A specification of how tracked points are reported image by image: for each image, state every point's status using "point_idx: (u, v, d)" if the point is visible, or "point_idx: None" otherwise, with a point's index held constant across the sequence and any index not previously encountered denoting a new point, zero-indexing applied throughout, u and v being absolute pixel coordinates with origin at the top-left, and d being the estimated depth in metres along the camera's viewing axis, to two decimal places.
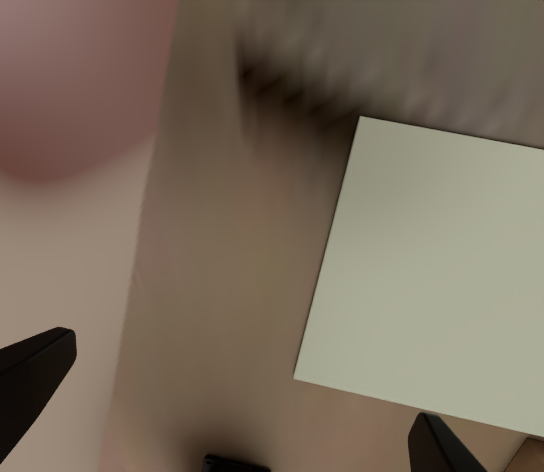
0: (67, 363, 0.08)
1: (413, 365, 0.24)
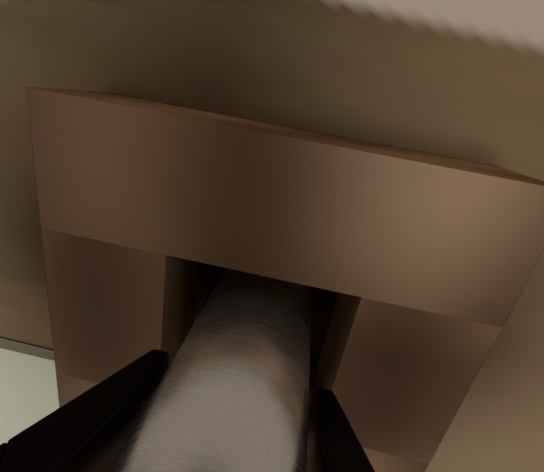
0: None
1: None
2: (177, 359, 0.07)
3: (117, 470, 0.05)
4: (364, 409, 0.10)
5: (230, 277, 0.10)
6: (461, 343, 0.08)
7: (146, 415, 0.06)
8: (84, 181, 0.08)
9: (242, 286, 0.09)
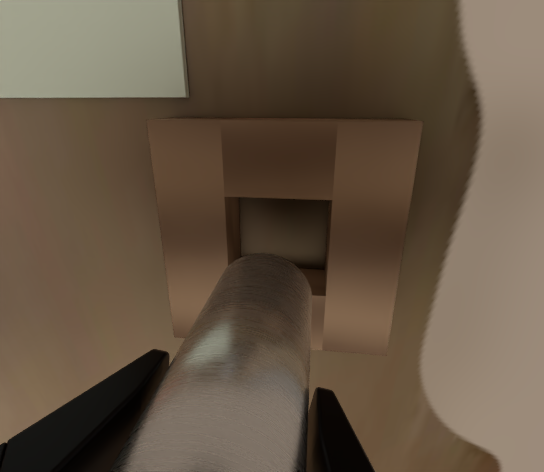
0: None
1: None
2: (177, 358, 0.07)
3: (117, 469, 0.05)
4: None
5: (230, 276, 0.10)
6: None
7: (146, 414, 0.06)
8: (371, 152, 0.14)
9: (242, 286, 0.09)
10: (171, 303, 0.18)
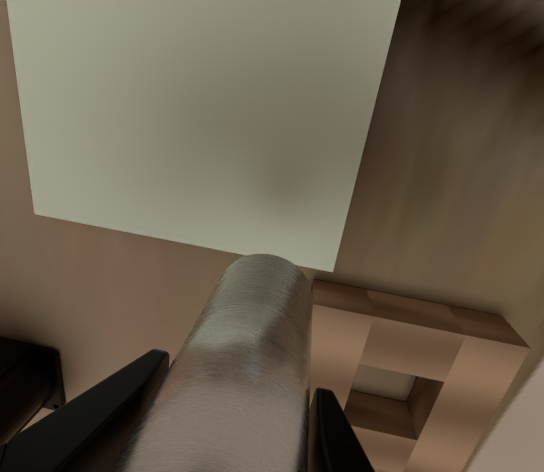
0: None
1: (155, 179, 0.20)
2: (178, 359, 0.07)
3: (118, 470, 0.05)
4: (358, 439, 0.22)
5: (231, 277, 0.10)
6: (394, 465, 0.23)
7: (147, 415, 0.06)
8: (485, 358, 0.19)
9: (243, 287, 0.09)
10: None
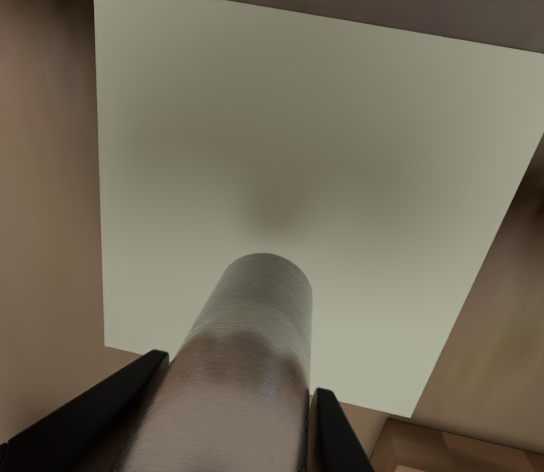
0: None
1: None
2: (177, 358, 0.07)
3: (117, 469, 0.05)
4: None
5: (231, 276, 0.10)
6: None
7: (146, 414, 0.06)
8: None
9: (243, 286, 0.09)
10: None
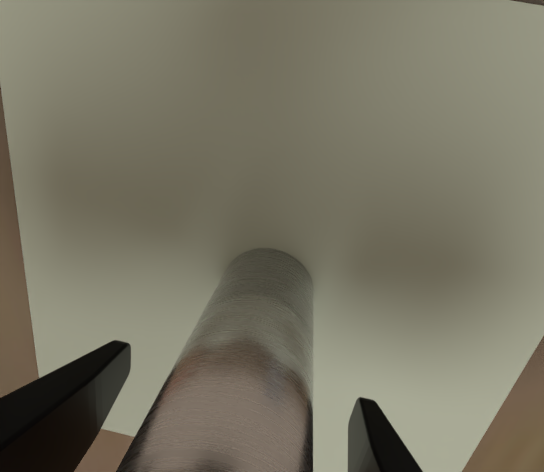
0: (123, 376, 0.08)
1: None
2: (188, 346, 0.08)
3: (139, 444, 0.05)
4: None
5: (235, 270, 0.11)
6: None
7: (162, 396, 0.06)
8: None
9: (248, 279, 0.10)
10: None
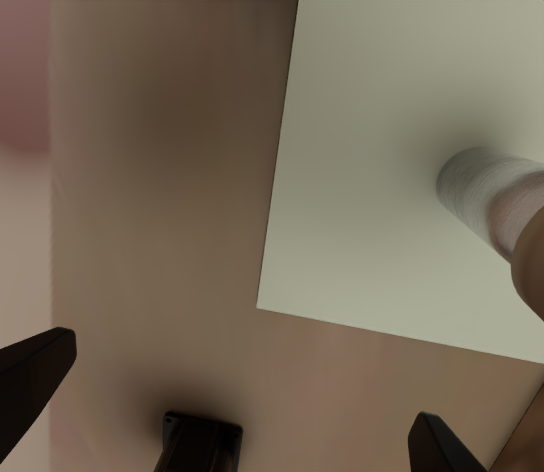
0: (67, 363, 0.08)
1: (403, 280, 0.19)
2: (500, 178, 0.12)
3: None
4: None
5: (473, 156, 0.15)
6: None
7: (523, 188, 0.11)
8: None
9: (497, 154, 0.14)
10: None
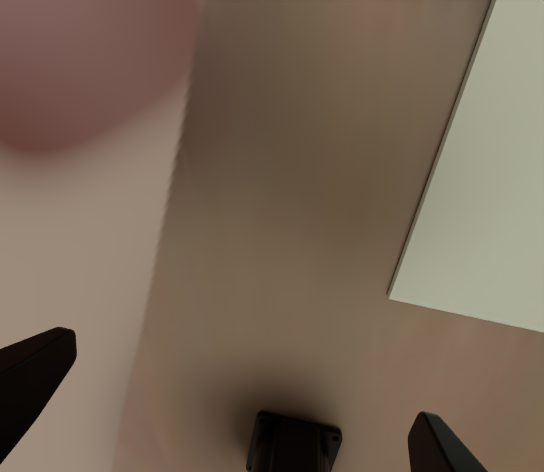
0: (67, 363, 0.08)
1: None
2: None
3: None
4: None
5: None
6: None
7: None
8: None
9: None
10: None
